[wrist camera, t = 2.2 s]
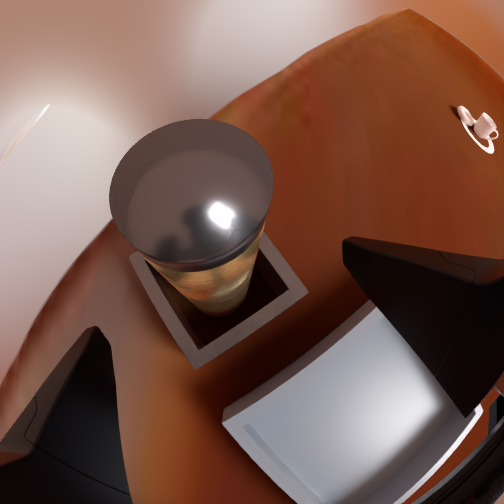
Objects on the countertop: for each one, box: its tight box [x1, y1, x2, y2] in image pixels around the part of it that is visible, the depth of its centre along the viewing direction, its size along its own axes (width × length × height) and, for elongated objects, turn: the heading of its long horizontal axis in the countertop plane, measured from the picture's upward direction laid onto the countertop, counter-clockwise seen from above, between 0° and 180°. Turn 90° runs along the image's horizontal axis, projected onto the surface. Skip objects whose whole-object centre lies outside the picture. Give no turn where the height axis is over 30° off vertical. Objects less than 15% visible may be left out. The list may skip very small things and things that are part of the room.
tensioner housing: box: [128, 231, 309, 370], centre depth 17 cm, size 8×8×4 cm
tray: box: [222, 299, 483, 504], centre depth 14 cm, size 15×15×4 cm
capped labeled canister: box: [109, 119, 274, 317], centre depth 12 cm, size 4×4×13 cm
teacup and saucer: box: [457, 106, 498, 153], centre depth 27 cm, size 9×8×4 cm
